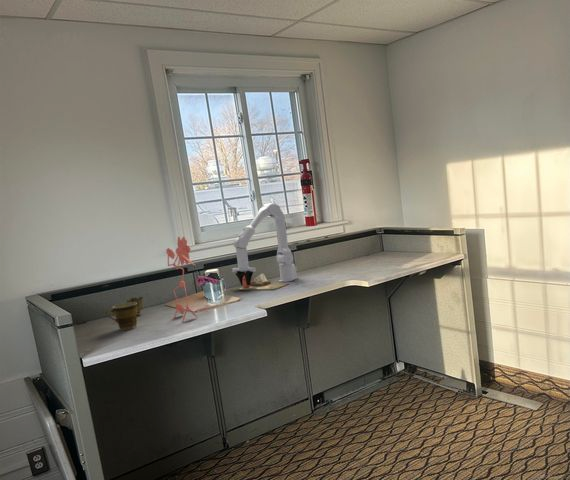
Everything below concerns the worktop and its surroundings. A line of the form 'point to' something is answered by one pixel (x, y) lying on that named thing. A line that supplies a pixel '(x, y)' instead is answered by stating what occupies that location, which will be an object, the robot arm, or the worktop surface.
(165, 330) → the worktop surface
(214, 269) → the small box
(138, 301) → the cup
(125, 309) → the ceramic cup
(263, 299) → the worktop surface
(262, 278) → the die
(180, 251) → the figurine
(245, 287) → the pawn
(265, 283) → the board
